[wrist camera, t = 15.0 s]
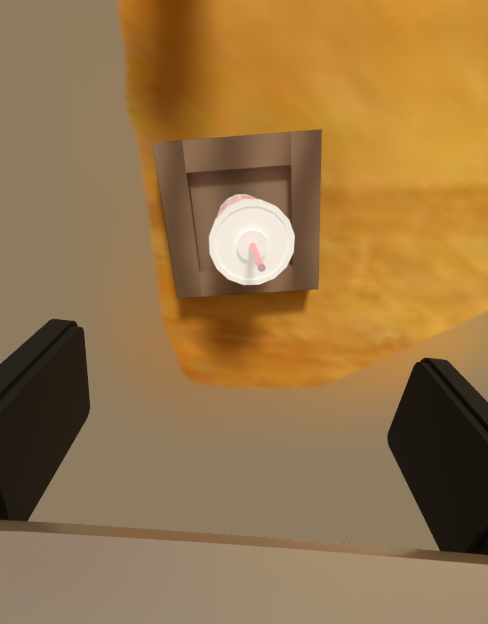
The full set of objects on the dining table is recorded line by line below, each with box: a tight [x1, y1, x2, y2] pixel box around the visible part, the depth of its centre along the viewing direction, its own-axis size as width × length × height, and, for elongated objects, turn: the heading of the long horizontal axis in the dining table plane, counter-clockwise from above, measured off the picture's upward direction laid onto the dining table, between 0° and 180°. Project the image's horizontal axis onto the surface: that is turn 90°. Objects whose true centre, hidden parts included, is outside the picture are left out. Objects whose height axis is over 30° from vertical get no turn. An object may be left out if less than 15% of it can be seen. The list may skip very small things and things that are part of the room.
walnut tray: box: [152, 129, 322, 298], centre depth 34 cm, size 14×14×4 cm
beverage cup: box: [209, 194, 295, 285], centre depth 26 cm, size 6×6×14 cm
